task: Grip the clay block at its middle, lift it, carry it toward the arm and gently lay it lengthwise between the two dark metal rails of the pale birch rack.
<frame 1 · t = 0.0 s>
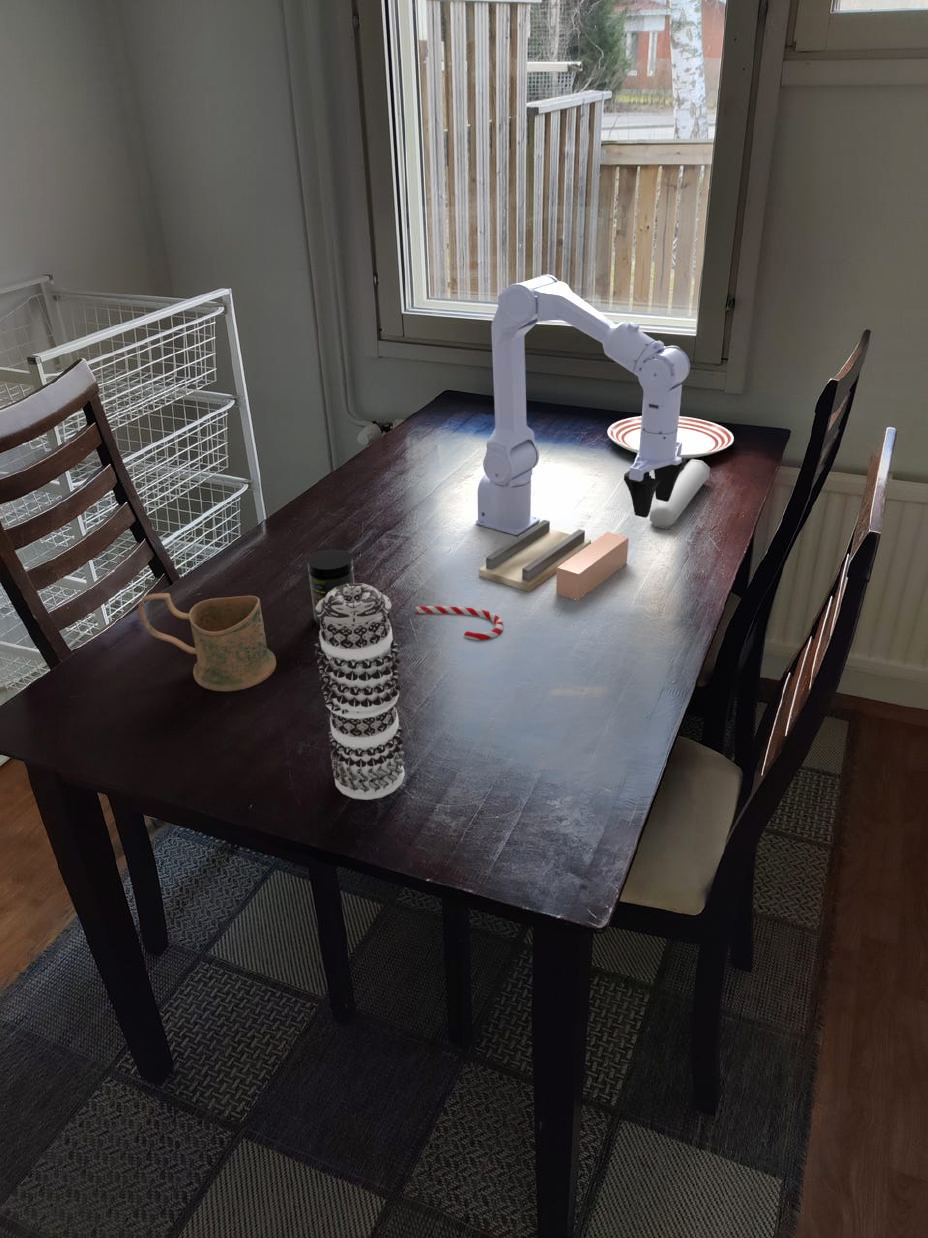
hand: (652, 507, 151), 10 cm above the table, tool pointing down, fingers open, 7 cm apart
tube: (678, 507, 177), on the table
decorative candle: (369, 777, 110), on the table
clay block: (592, 579, 152), on the table
candy cane: (457, 625, 141), on the table
mug: (214, 669, 132), on the table
supplement container: (336, 620, 143), on the table
dinner plate: (668, 447, 205), on the table
rack: (536, 560, 158), on the table
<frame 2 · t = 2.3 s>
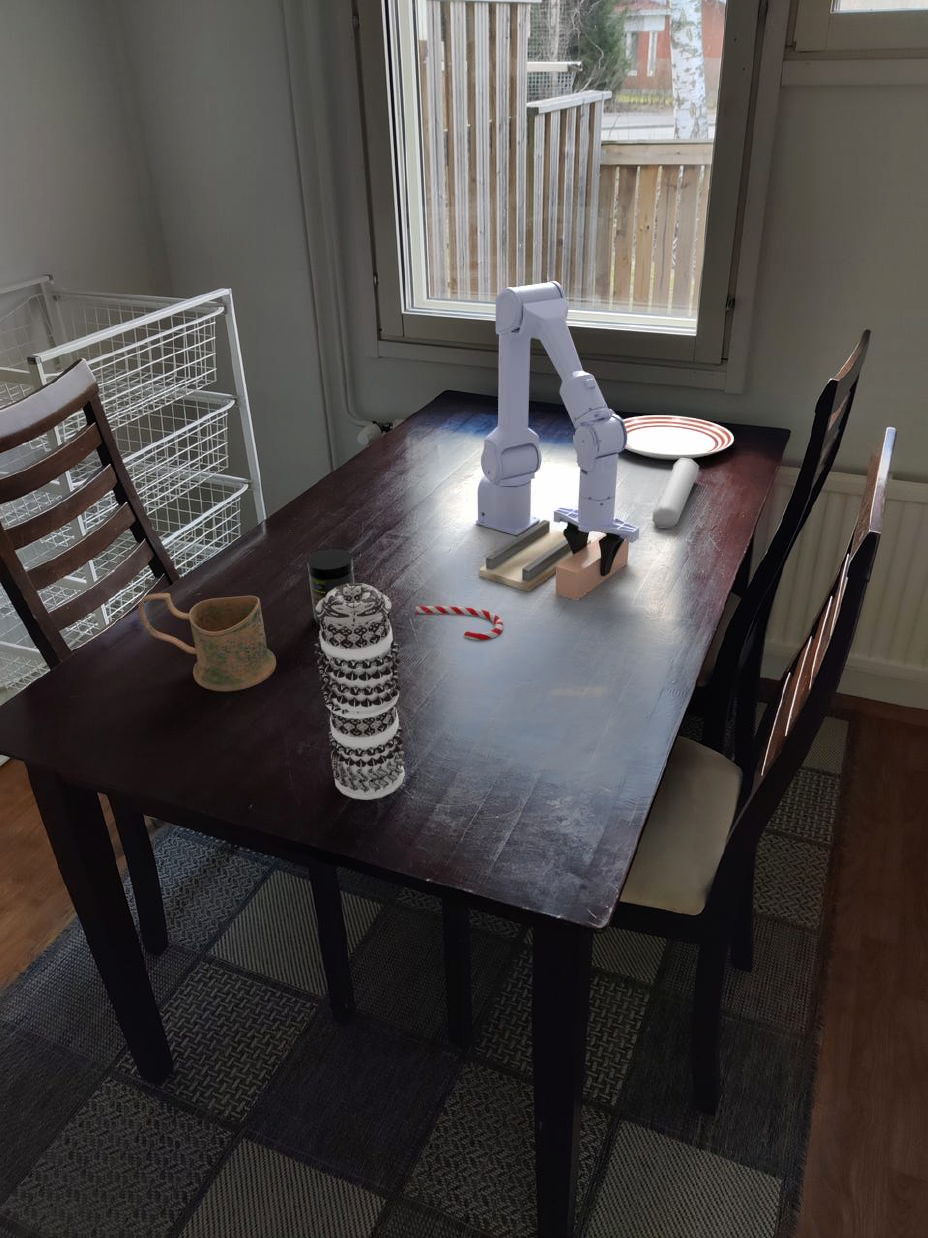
hand: (592, 570, 152), 1 cm above the table, tool pointing down, fingers closed on clay block, 4 cm apart
clay block: (592, 578, 152), on the table, touching gripper
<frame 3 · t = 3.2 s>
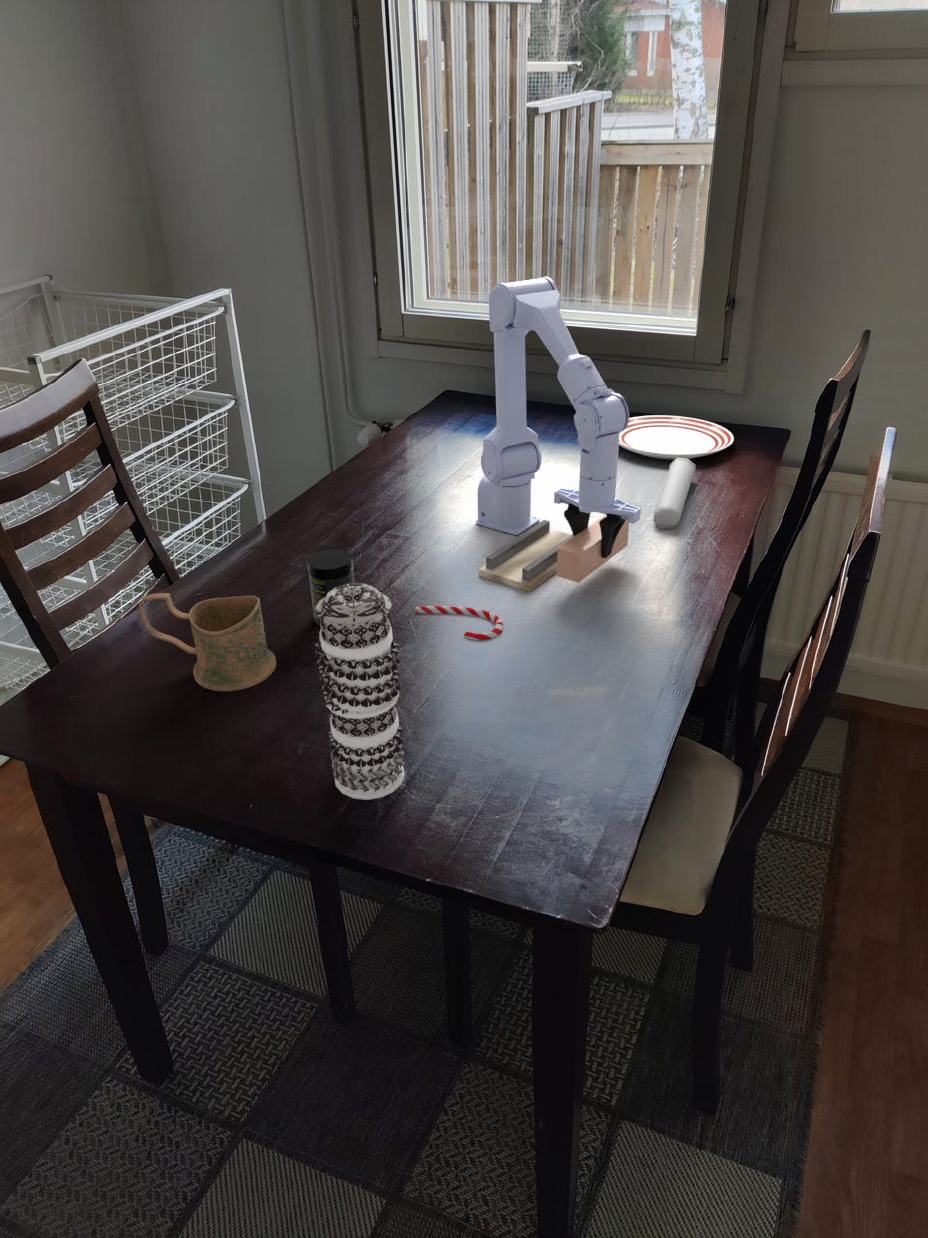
hand: (593, 551, 150), 5 cm above the table, tool pointing down, fingers closed on clay block, 4 cm apart
clay block: (593, 560, 151), point 3 cm above the table, touching gripper
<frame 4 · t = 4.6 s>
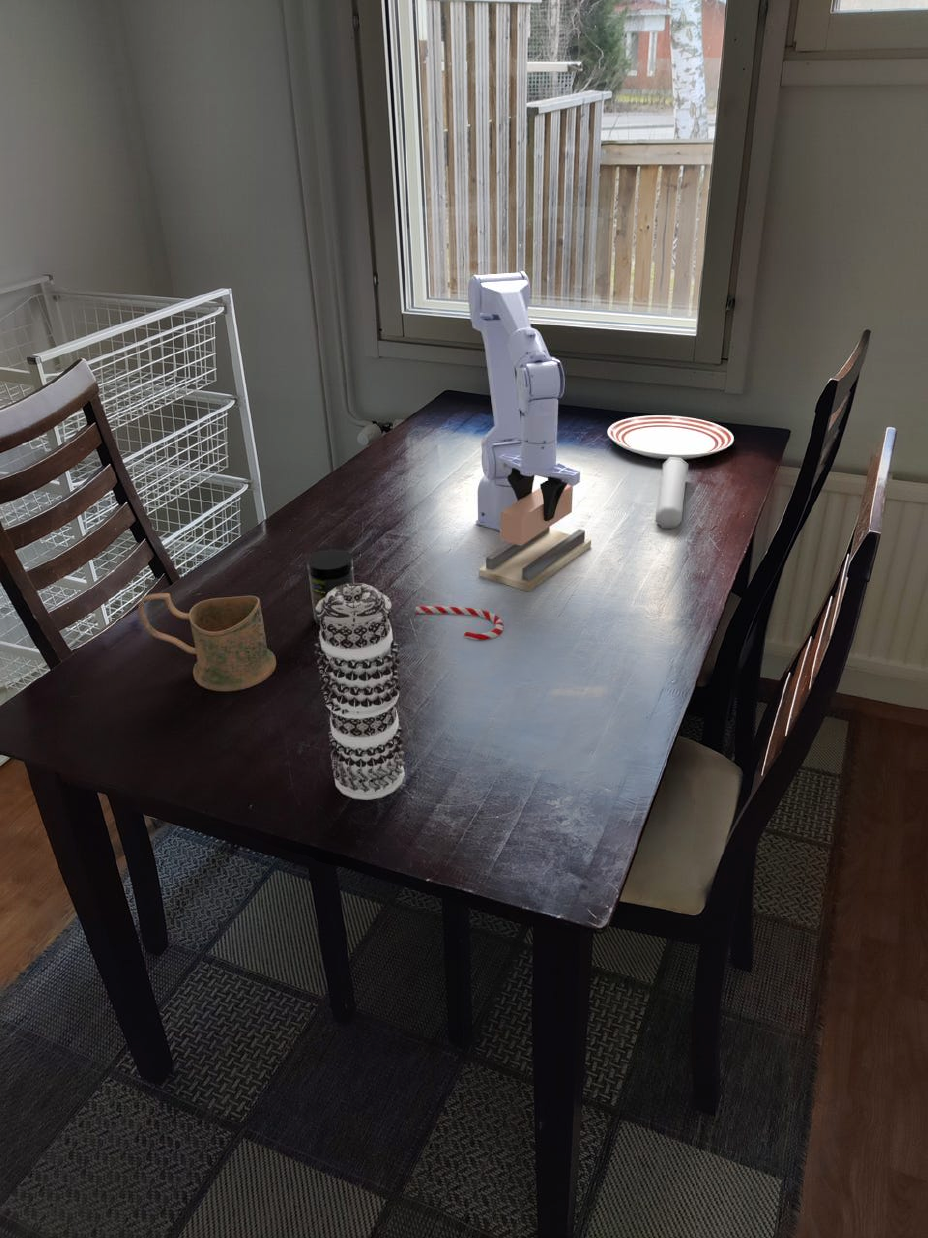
hand: (537, 515, 154), 8 cm above the table, tool pointing down, fingers closed on clay block, 4 cm apart
clay block: (537, 525, 155), point 7 cm above the table, touching gripper
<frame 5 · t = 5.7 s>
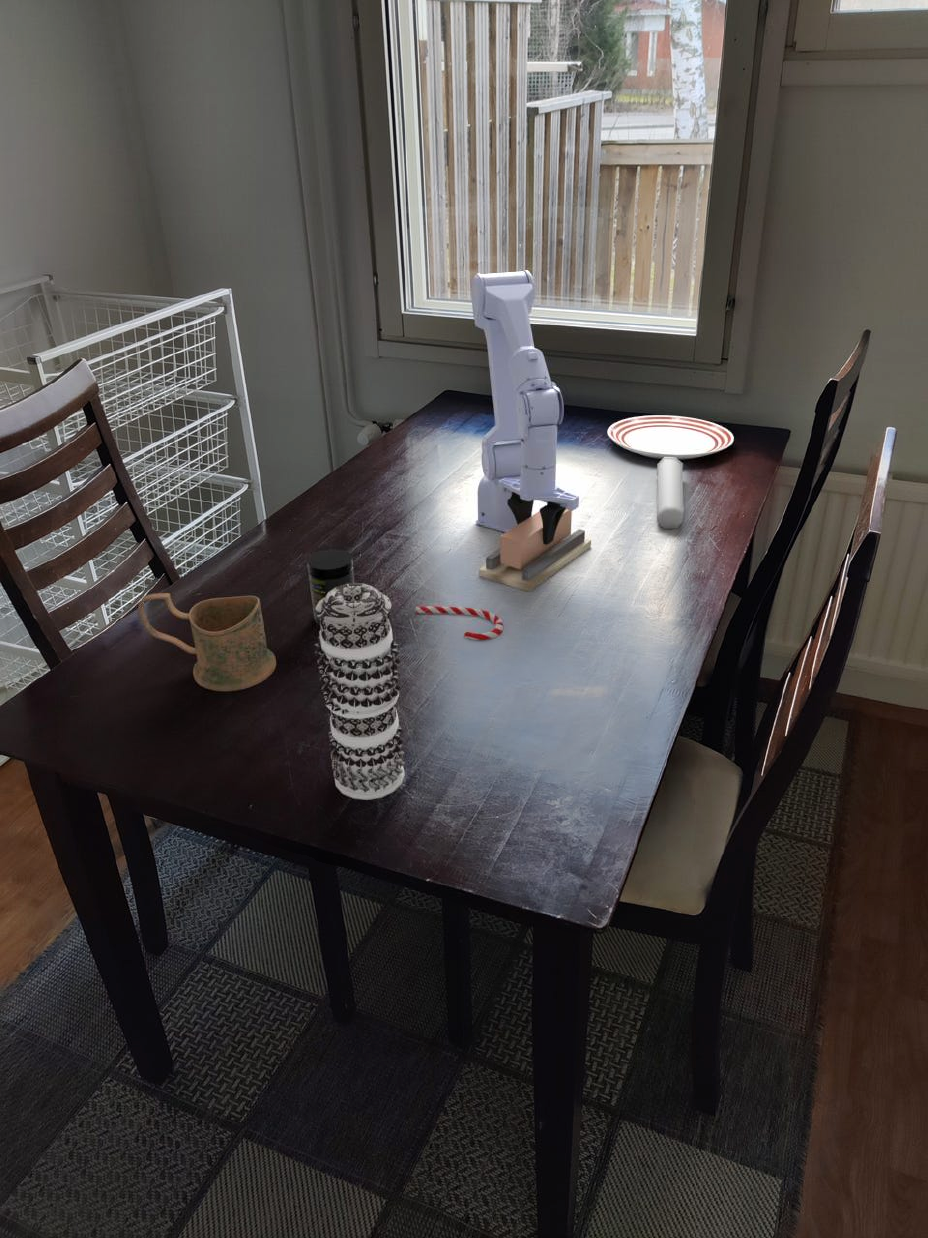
hand: (536, 538, 156), 4 cm above the table, tool pointing down, fingers closed on clay block, 4 cm apart
clay block: (536, 548, 157), point 2 cm above the table, touching gripper
when the fingers open (4 cm above the table, at t = 6.4 s): clay block drops 1 cm, resting on rack.
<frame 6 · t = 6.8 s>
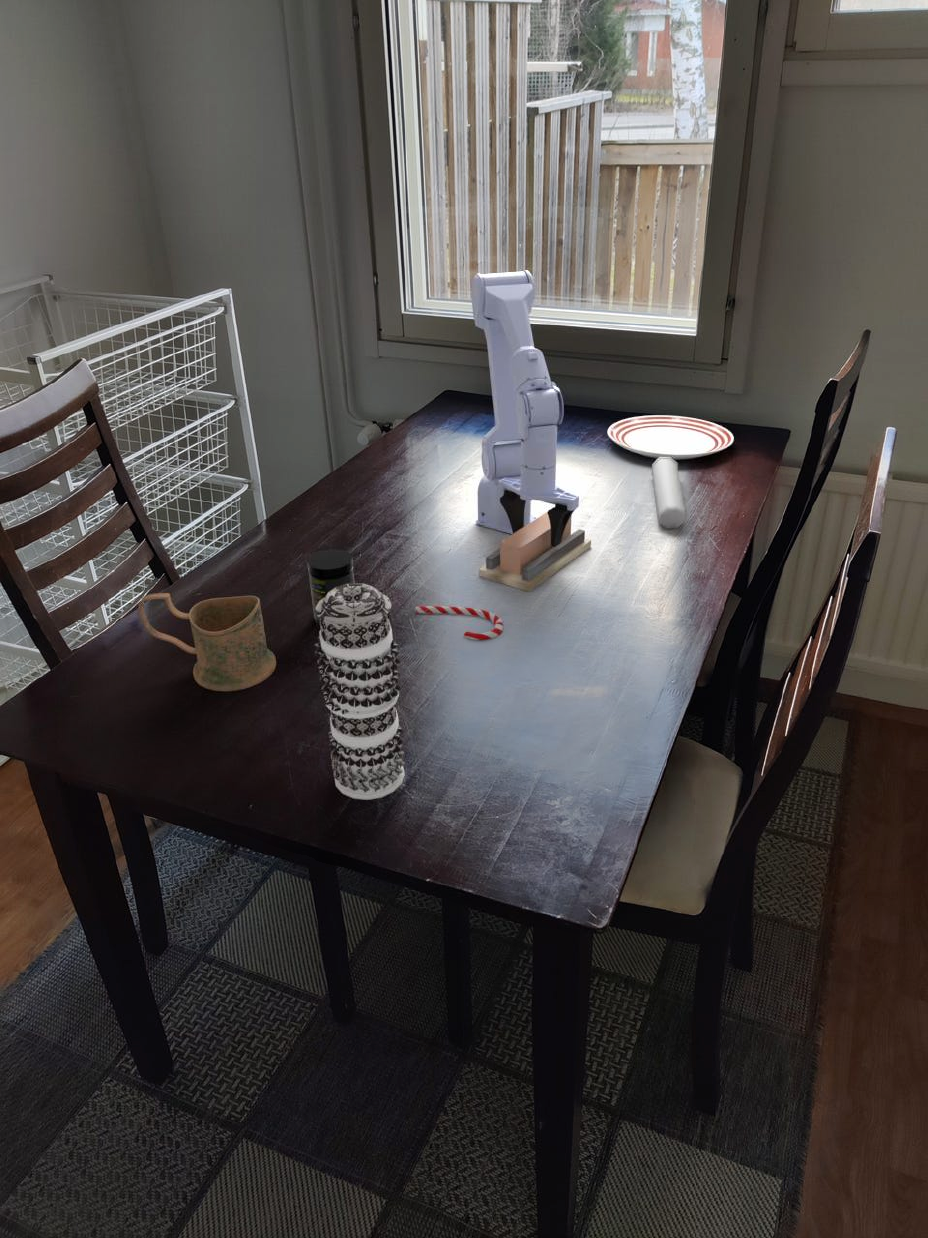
hand: (536, 538, 156), 4 cm above the table, tool pointing down, fingers open, 7 cm apart
clay block: (536, 554, 157), point 1 cm above the table, touching rack
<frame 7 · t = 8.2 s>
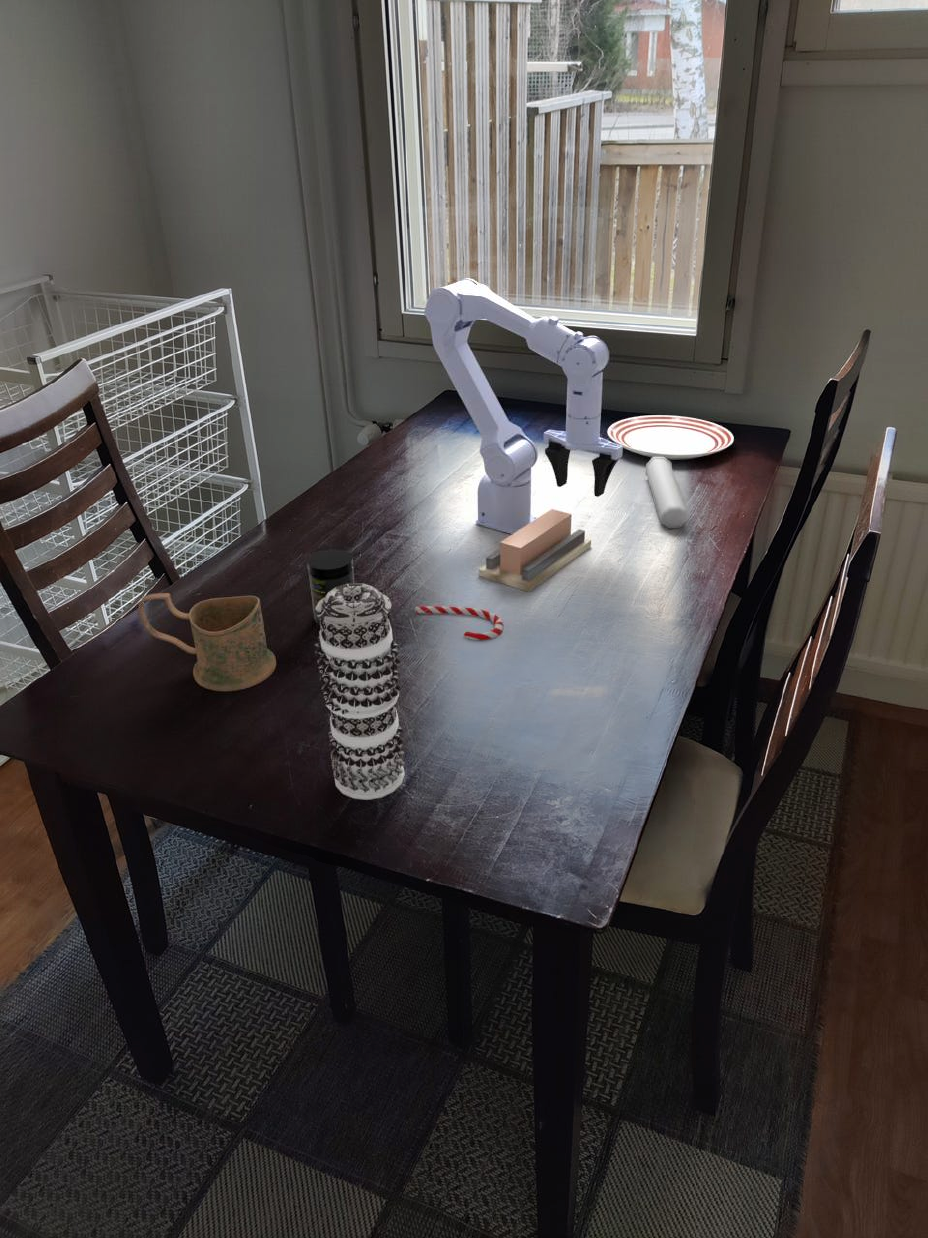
hand: (580, 489, 160), 9 cm above the table, tool pointing down, fingers open, 7 cm apart
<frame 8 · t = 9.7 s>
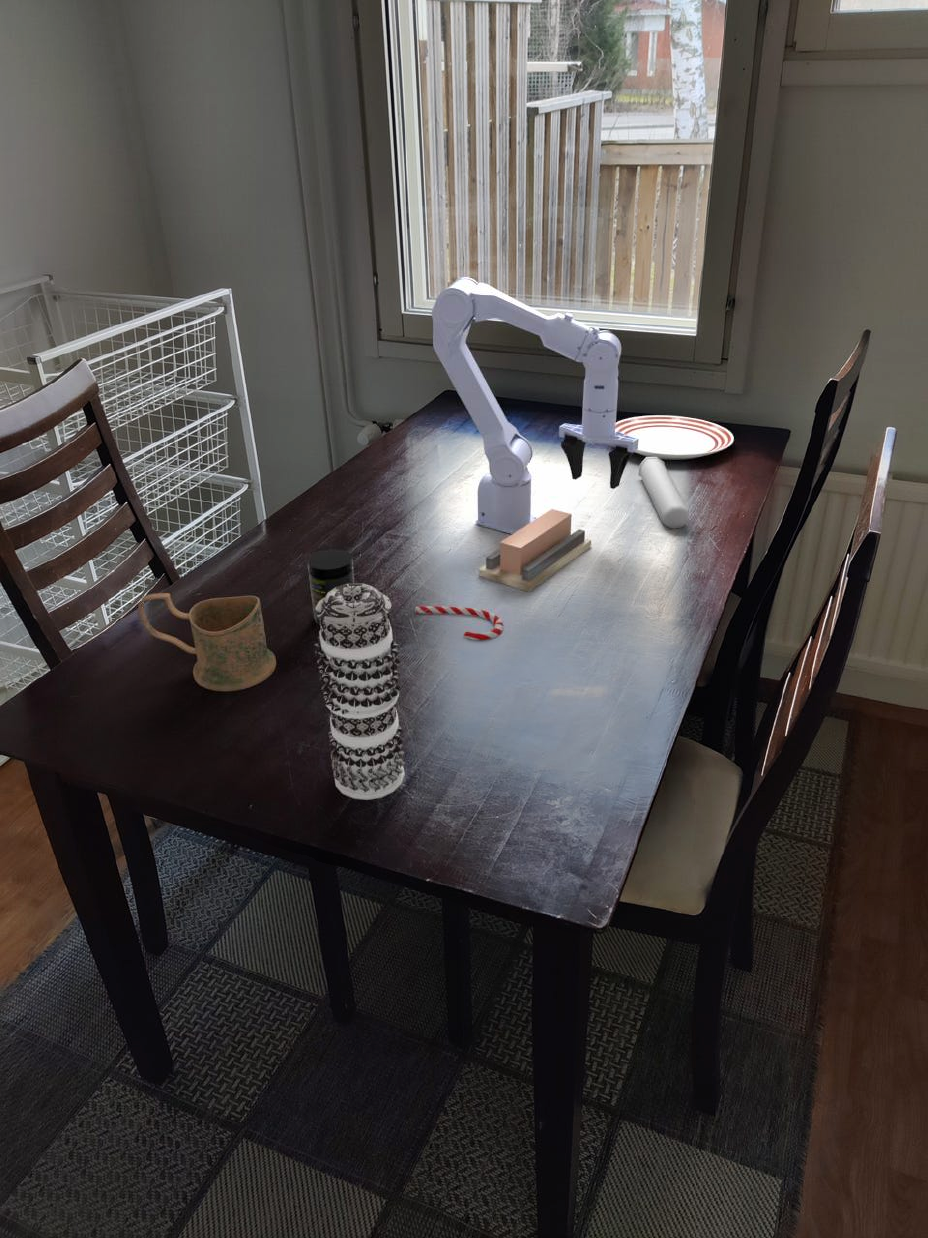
hand: (595, 482, 163), 9 cm above the table, tool pointing down, fingers open, 7 cm apart
at the end: clay block 0.0 cm off-centre on the rack, point 1.2 cm above the rack's base; clay block touching rack; the gripper is holding nothing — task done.
